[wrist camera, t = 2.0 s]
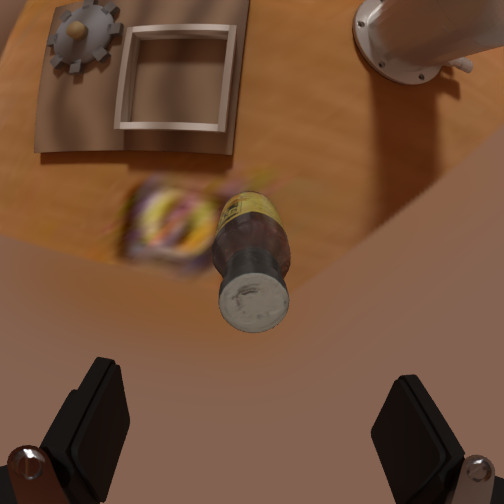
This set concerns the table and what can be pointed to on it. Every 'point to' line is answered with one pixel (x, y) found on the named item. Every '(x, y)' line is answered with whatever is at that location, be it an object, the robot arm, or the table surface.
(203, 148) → the gear board
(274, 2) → the table surface
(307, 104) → the table surface
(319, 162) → the table surface
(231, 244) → the sauce bottle
